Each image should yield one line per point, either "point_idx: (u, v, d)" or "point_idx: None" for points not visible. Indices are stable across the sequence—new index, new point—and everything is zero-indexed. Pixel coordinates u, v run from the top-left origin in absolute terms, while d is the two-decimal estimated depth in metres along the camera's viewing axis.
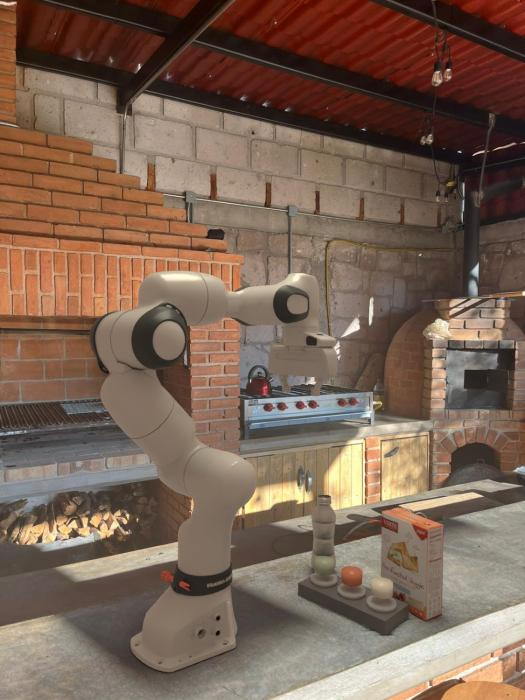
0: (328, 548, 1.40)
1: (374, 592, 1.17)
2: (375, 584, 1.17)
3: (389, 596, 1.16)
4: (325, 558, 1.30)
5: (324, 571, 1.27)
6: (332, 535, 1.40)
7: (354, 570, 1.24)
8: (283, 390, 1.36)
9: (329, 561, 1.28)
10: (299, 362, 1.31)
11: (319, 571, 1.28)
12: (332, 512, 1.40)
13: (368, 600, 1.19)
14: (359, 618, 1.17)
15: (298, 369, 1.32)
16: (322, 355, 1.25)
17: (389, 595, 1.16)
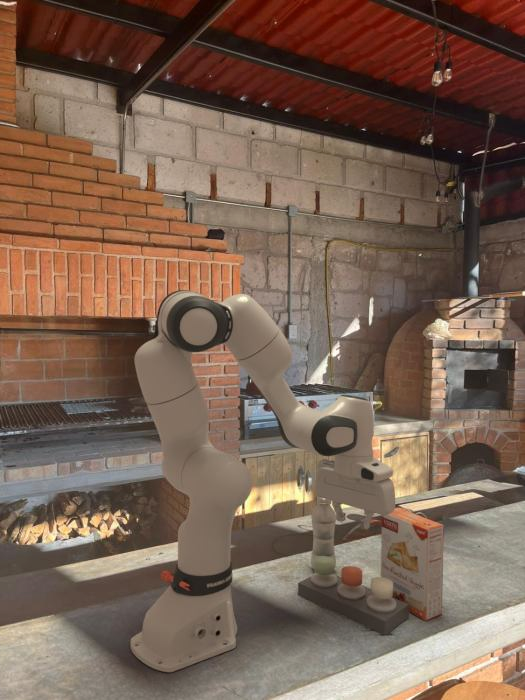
0: (328, 548, 1.40)
1: (374, 592, 1.17)
2: (375, 584, 1.17)
3: (389, 596, 1.16)
4: (325, 558, 1.30)
5: (324, 571, 1.27)
6: (332, 535, 1.40)
7: (354, 570, 1.24)
8: (337, 518, 1.25)
9: (329, 561, 1.28)
10: (352, 492, 1.21)
11: (319, 571, 1.28)
12: (332, 512, 1.40)
13: (368, 600, 1.19)
14: (359, 618, 1.17)
15: (351, 499, 1.22)
16: (380, 491, 1.15)
17: (389, 595, 1.16)
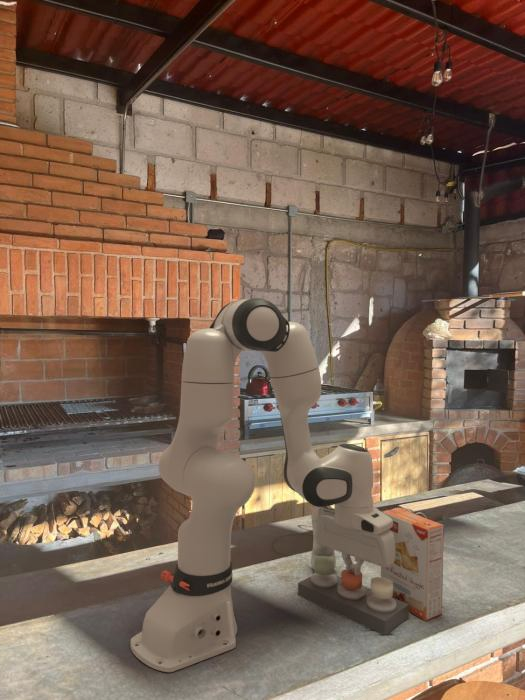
0: (328, 548, 1.40)
1: (374, 592, 1.17)
2: (375, 584, 1.17)
3: (389, 596, 1.16)
4: (325, 558, 1.30)
5: (324, 571, 1.27)
6: None
7: None
8: (347, 570, 1.24)
9: (329, 561, 1.28)
10: (353, 542, 1.22)
11: (319, 571, 1.28)
12: None
13: (368, 600, 1.19)
14: (359, 618, 1.17)
15: (351, 549, 1.22)
16: (380, 543, 1.16)
17: (389, 595, 1.16)
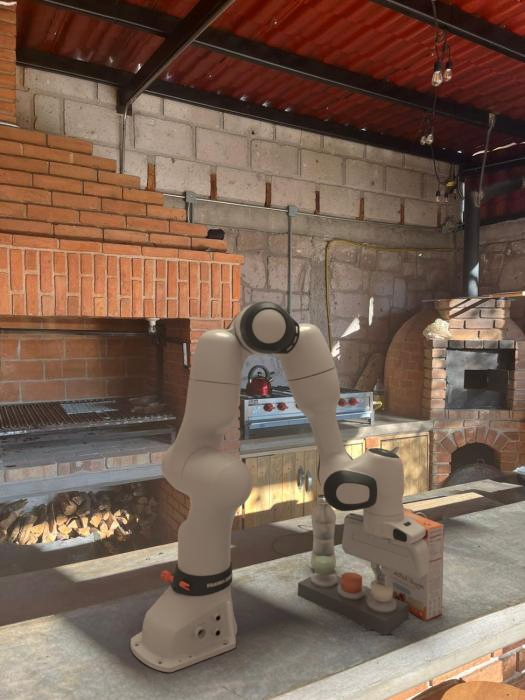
0: (328, 548, 1.40)
1: (374, 594, 1.17)
2: (375, 587, 1.17)
3: (389, 599, 1.16)
4: (325, 558, 1.30)
5: (324, 571, 1.27)
6: (332, 535, 1.40)
7: (354, 577, 1.24)
8: (377, 581, 1.19)
9: (329, 561, 1.28)
10: (383, 552, 1.16)
11: (319, 571, 1.28)
12: (332, 512, 1.40)
13: (368, 600, 1.19)
14: (359, 618, 1.17)
15: (381, 559, 1.17)
16: (414, 553, 1.10)
17: (389, 598, 1.16)
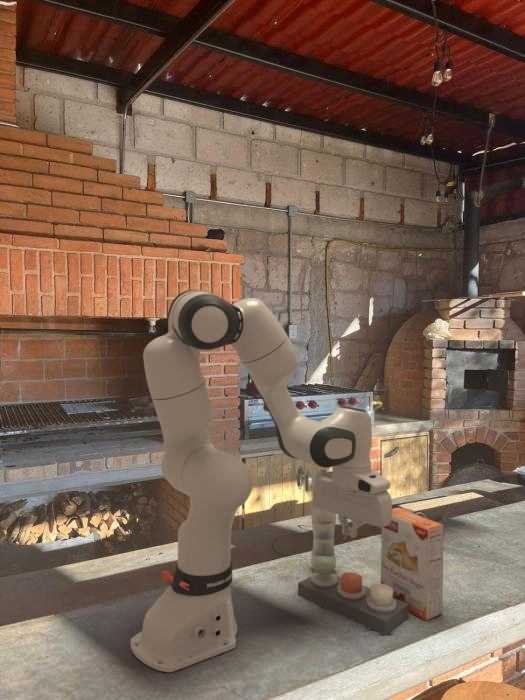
0: (328, 548, 1.40)
1: (374, 599, 1.17)
2: (375, 591, 1.17)
3: (389, 603, 1.16)
4: (325, 558, 1.30)
5: (324, 571, 1.27)
6: (332, 535, 1.40)
7: (354, 577, 1.24)
8: (343, 532, 1.24)
9: (329, 561, 1.28)
10: (349, 503, 1.21)
11: (319, 571, 1.28)
12: None
13: (368, 600, 1.19)
14: (359, 618, 1.17)
15: (348, 511, 1.22)
16: (377, 503, 1.16)
17: (389, 602, 1.16)
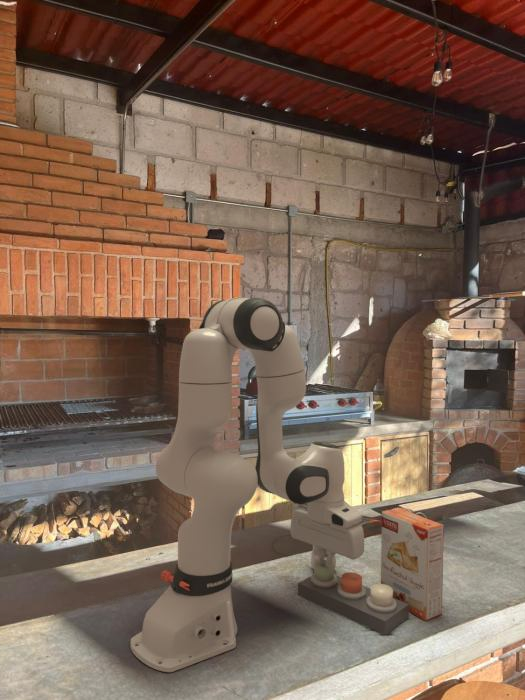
0: None
1: (374, 599, 1.17)
2: (375, 591, 1.17)
3: (389, 603, 1.16)
4: None
5: (324, 577, 1.27)
6: None
7: (354, 577, 1.24)
8: (319, 562, 1.30)
9: (329, 567, 1.29)
10: (324, 535, 1.27)
11: (319, 577, 1.28)
12: None
13: (368, 600, 1.19)
14: (359, 618, 1.17)
15: (323, 542, 1.28)
16: (349, 536, 1.21)
17: (389, 602, 1.16)
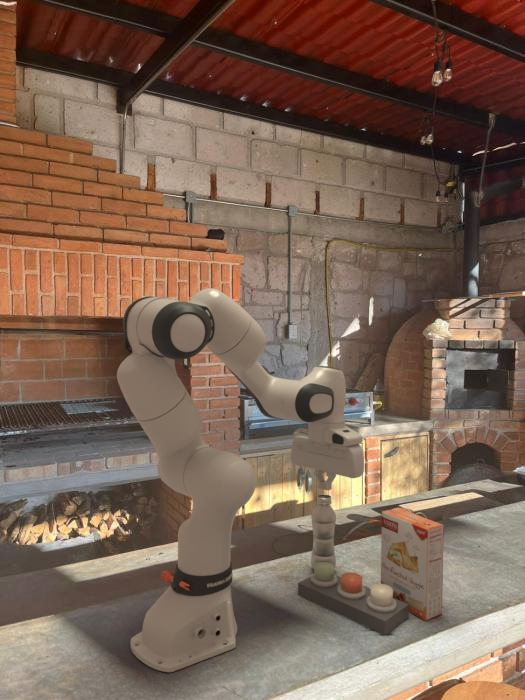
0: (328, 548, 1.40)
1: (374, 599, 1.17)
2: (375, 591, 1.17)
3: (389, 603, 1.16)
4: (325, 564, 1.31)
5: (324, 577, 1.27)
6: (332, 535, 1.40)
7: (354, 577, 1.24)
8: (319, 486, 1.30)
9: (329, 567, 1.29)
10: (324, 457, 1.28)
11: (319, 577, 1.28)
12: (332, 512, 1.40)
13: (368, 600, 1.19)
14: (359, 618, 1.17)
15: (323, 465, 1.29)
16: (349, 454, 1.22)
17: (389, 602, 1.16)
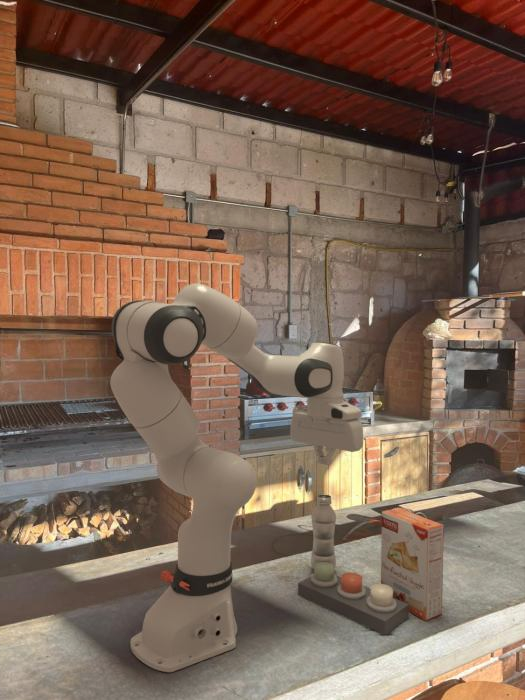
0: (328, 548, 1.40)
1: (374, 599, 1.17)
2: (375, 591, 1.17)
3: (389, 603, 1.16)
4: (325, 564, 1.31)
5: (324, 577, 1.27)
6: (332, 535, 1.40)
7: (354, 577, 1.24)
8: (319, 461, 1.32)
9: (329, 567, 1.29)
10: (324, 433, 1.29)
11: (319, 577, 1.28)
12: (332, 512, 1.40)
13: (368, 600, 1.19)
14: (359, 618, 1.17)
15: (322, 440, 1.30)
16: (348, 428, 1.23)
17: (389, 602, 1.16)
